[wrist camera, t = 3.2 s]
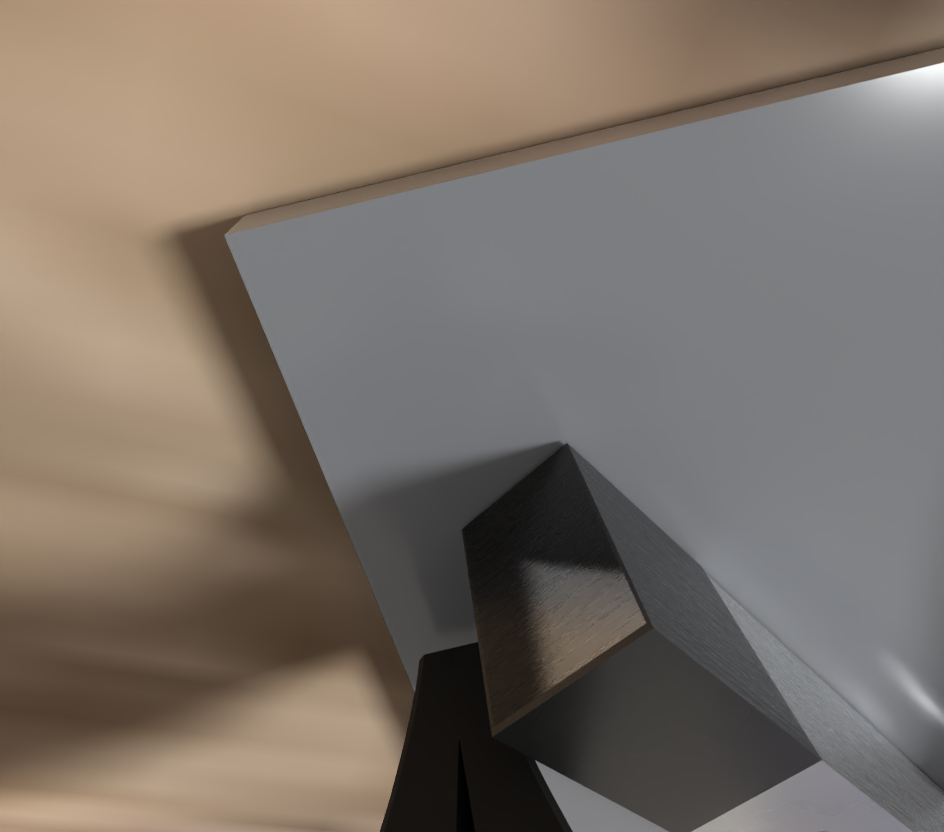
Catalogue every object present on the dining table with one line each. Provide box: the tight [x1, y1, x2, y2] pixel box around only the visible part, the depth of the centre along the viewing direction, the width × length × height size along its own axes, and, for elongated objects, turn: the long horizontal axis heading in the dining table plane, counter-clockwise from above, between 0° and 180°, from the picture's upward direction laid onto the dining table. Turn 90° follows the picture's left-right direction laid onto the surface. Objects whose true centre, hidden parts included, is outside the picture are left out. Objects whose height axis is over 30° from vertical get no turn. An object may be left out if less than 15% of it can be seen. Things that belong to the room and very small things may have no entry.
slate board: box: [224, 48, 944, 832], centre depth 14 cm, size 23×19×1 cm
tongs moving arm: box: [462, 443, 944, 832], centre depth 12 cm, size 18×2×4 cm, turn 44°
